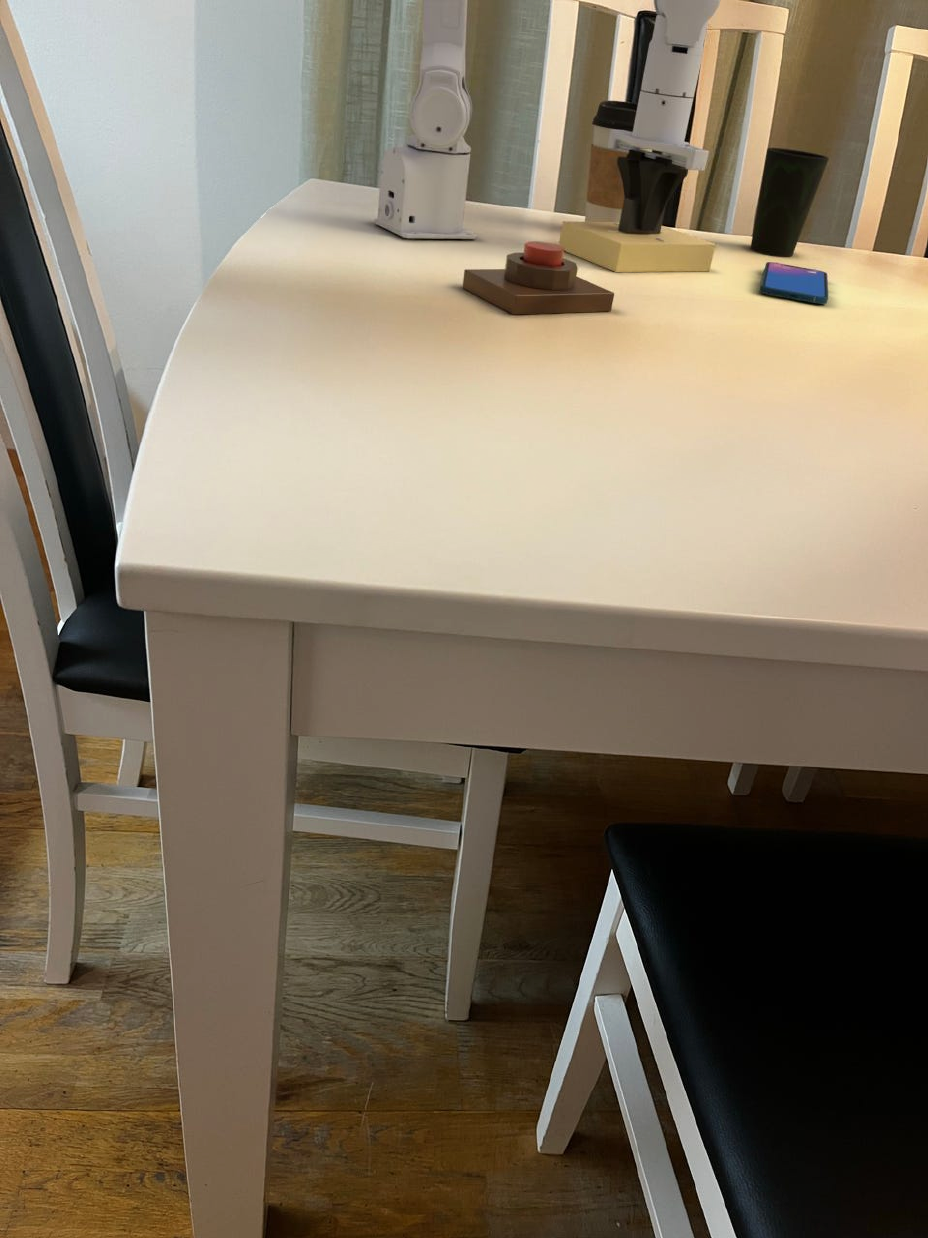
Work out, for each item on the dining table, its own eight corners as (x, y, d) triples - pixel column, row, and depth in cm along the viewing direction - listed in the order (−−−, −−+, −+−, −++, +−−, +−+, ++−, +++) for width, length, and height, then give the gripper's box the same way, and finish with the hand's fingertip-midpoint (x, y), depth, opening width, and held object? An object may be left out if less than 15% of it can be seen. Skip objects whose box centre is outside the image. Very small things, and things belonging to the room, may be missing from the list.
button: (536, 270, 87) (539, 250, 86) (514, 260, 90) (517, 240, 89) (568, 270, 89) (571, 250, 88) (546, 260, 92) (549, 241, 91)
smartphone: (760, 286, 104) (765, 260, 117) (757, 294, 105) (763, 267, 117) (829, 299, 103) (827, 271, 115) (826, 307, 103) (825, 279, 116)
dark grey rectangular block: (626, 233, 110) (633, 197, 108) (617, 230, 111) (624, 194, 109) (660, 233, 112) (667, 199, 110) (651, 230, 113) (658, 196, 111)
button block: (513, 314, 85) (519, 273, 83) (461, 287, 91) (466, 248, 90) (611, 311, 90) (618, 272, 89) (556, 285, 97) (562, 249, 95)
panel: (615, 271, 106) (621, 241, 104) (558, 248, 114) (562, 219, 112) (709, 270, 113) (716, 242, 111) (649, 248, 120) (654, 221, 119)
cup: (804, 253, 131) (832, 156, 125) (796, 261, 125) (825, 159, 118) (747, 242, 133) (772, 146, 127) (737, 249, 127) (762, 149, 121)
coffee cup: (636, 233, 129) (662, 106, 121) (640, 245, 121) (667, 111, 114) (574, 224, 129) (595, 97, 121) (574, 235, 122) (596, 101, 114)
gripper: (741, 106, 101) (708, 242, 108) (652, 88, 111) (627, 214, 118) (690, 100, 98) (660, 242, 105) (603, 83, 108) (581, 213, 115)
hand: (639, 227), depth 111 cm, fingers closed on dark grey rectangular block, 2 cm apart
